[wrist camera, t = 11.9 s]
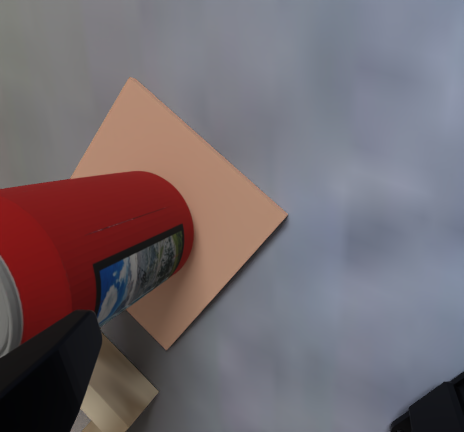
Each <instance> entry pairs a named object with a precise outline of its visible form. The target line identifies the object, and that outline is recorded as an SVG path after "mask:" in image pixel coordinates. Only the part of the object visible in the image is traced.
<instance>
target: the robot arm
mask: <svg viewBox="0 0 464 432" xmlns="http://www.w3.org/2000/svg"><path fill="white" fill-rule="evenodd" d="M101 346H102V333H101V330H100V326H99V323H98V320H97V317H96V314H95V312H94V311H92V310H81V309H79V310H75V311H73V312H71V313H70V314H68V315H67V316H65V317H64V318H62V319H60V320H59V321H57V322H56V323H54V324H53V325H51V326H49V327H48V328H46V329H45V330H43V331H42V332H40V333H39V334H37V335H35V336H34V337H32V338H31V339H29V340H28V341H26V342H24V343H23V344H21V345H20V346H18V347H17V348H15V349H14V350H12V351H10V352H9V353H7V354H6V355H4V356H3V357H1V358H0V432H70V431H71V428H72V426H73V424H74V422H75V420H76V417H77V415H78V413H79V410H80V408H81V405H82V402H83V400H84V397H85V394H86V391H87V388H88V385H89V382H90V379H91V376H92V373H93V370H94V367H95V364H96V361H97V358H98V355H99V352H100V349H101ZM390 429H391V432H398V431H397V430H399V429H400V430H403V431H405V432H464V372H463V373H461V374H460V375H458V376H457V377H456V378H454V379H453V380H451V381H449V382H443V383H442V384H441V385H439V386H438V387H436V388H435V389H434V390H432V391H431V392H429V393H428V394H427V395H425V396H424V397H422V398H421V399H420V400H418V401H417V402H415V403H414V404H413V405H411V406H410V407H409V411H408V412H406V413H405V414H403V415H402V416H400V417H399V418H398V419H396V420H395V421H393V422H392V424H391V427H390Z"/></svg>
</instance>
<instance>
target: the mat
mask: <svg viewBox="0 0 464 432" xmlns="http://www.w3.org/2000/svg"><path fill="white" fill-rule="evenodd" d="M130 171H145V172H150V173H153V174H156V175H158V176H160V177H162V178H164V179H165V180H167V181H168V182H170V183H171V184H172V185H173V186H174V187H175V188H176V189H177V190H178V191H179V192H180V194H181V195H182V197H183V198H184V200H185V201H186V203H187V205H188V208H189V210H190V213H191V216H192V220H193V226H194V240H193V246H192V250H191V253H190V255H189V257H188V259H187V261H186V263H185V264H184V266H183V267H182V268H181V269H180V270H179V271H178V272H177V273H176V274H174V275H173V276H171V277H170V278H169V279H167V280H166V281H165V282H163V283H162V284H161V285H159V286H158V287H156V288H155V289H154V290H152V291H151V292H149V293H148V294H147V295H145V296H144V297H142V298H141V299H140V300H138V301H137V302H135V303H134V304H133V305H131V306H130V307H128V308H127V309H126V310H127V311H128V312H129V313H130V314H131V315H132V316H133V317H134V318H135V319H136V320H137V321H138V322H139V323H140V324H141V325H142V326H143V327H144V328H145V329H146V330H147V331H148V332H149V333H150V334H151V335H152V336H153V337H154V338H155V339H156V340H157V342H158V343H159V344H160V345H161V346H162V347H163V348H164V349H165V350H167V349H168V348H169V347H170V346H171V345H172V344H173V343H174V342H175V341H176V340H177V338H178V337H179V336H180V335H181V334H182V333H183V332H184V331H185V330H186V328H187V327H188V326H189V325H190V324H191V323H192V322H193V321H194V319H195V318H196V317H197V316H198V315H199V314H200V313H201V312H202V311H203V309H204V308H205V307H206V306H207V305H208V304H209V303H210V302H211V300H212V299H213V298H214V297H215V296H216V295H217V294H218V293H219V292H220V290H221V289H222V288H223V287H224V286H225V285H226V284H227V283H228V281H229V280H230V279H231V278H232V277H233V276H234V275H235V274H236V273H237V271H238V270H239V269H240V268H241V267H242V266H243V265H244V264H245V263H246V261H247V260H248V259H249V258H250V257H251V256H252V255H253V254H254V252H255V251H256V250H257V249H258V248H259V247H260V246H261V245H262V244H263V242H264V241H265V240H266V239H267V238H268V237H269V236H270V235H271V233H272V232H273V231H274V230H275V229H276V228H277V227H278V226H279V225H280V223H281V222H282V221H283V220H284V219H285V218H286V217H287V216H288V214H287V213H286V212H285V211H284V210H283V209H281V208H280V207H279V206H278V205H277V204H276V203H275V202H274V201H272V200H271V199H270V198H269V197H268V196H267V195H266V194H265V193H263V192H262V191H261V190H260V189H259V188H258V187H257V186H256V185H254V184H253V183H252V182H251V181H250V180H249V179H248V178H247V177H245V176H244V175H243V174H242V173H241V172H240V171H239V170H238V169H236V168H235V167H234V166H233V165H232V164H231V163H230V162H229V161H227V160H226V159H225V158H224V157H223V156H222V155H221V154H220V153H218V152H217V151H216V150H215V149H214V148H213V147H212V146H211V145H209V144H208V143H207V142H206V141H205V140H204V139H203V138H202V137H200V136H199V135H198V134H197V133H196V132H195V131H194V130H193V129H191V128H190V127H189V126H188V125H187V124H186V123H185V122H184V121H182V120H181V119H180V118H179V117H178V116H177V115H176V114H175V113H173V112H172V111H171V110H170V109H169V108H168V107H167V106H166V105H164V104H163V103H162V102H161V101H160V100H159V99H158V98H157V97H155V96H154V95H153V94H152V93H151V92H150V91H149V90H148V89H146V88H145V87H144V86H143V85H142V84H141V83H140V82H139V81H137V80H136V79H135V78H131V77H129V79H128V80H127V82H126V84H125V85H124V87H123V89H122V91H121V92H120V94H119V96H118V97H117V99H116V101H115V103H114V104H113V106H112V108H111V109H110V111H109V113H108V115H107V116H106V118H105V120H104V121H103V123H102V125H101V127H100V128H99V130H98V132H97V133H96V135H95V137H94V139H93V140H92V142H91V144H90V145H89V147H88V149H87V151H86V152H85V154H84V156H83V157H82V159H81V161H80V163H79V164H78V166H77V168H76V169H75V171H74V173H73V175H72V176H71V178H70V179H74V178H81V177H89V176H97V175H105V174H113V173H121V172H130Z"/></svg>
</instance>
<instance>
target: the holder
mask: <svg viewBox="0 0 464 432" xmlns="http://www.w3.org/2000/svg"><path fill="white" fill-rule="evenodd" d="M101 333H102V332H101ZM158 393H159V391H158V390H157V389H156V388H155V387H154V386H153V385H152V384H151V383H150V382H149V381H148V380H147V379H146V378H145V377H144V376H143V375H142V374H141V373H140V372H139V371H138V370H137V368H136V367H135V366H134V365H133V364H132V363H131V362H130V361H129V360H128V359H127V358H126V357H125V356H124V355H123V354H122V353H121V352H120V351H119V350H118V349H117V348H116V347H115V346H114V345H113V344H112V343H111V342H110V341H109V340H108V339H107V337H106V336H105V335H104V334H103V333H102V346H101V349H100V352H99V355H98V358H97V361H96V364H95V367H94V370H93V373H92V376H91V379H90V382H89V385H88V388H87V391H86V394H85V397H84V400H83V402H82V405H81V410H82V411H83V412H84V413H85V414H86V415H87V416H88V417H89V418H90V419H91V421H90V423H89V424H88V425H87V426H86V427H85V428H84V429H83V431H82V432H125V431H126V430H127V429H128V428H129V427H130V426H131V425H132V424H133V422H134V421H135V420H136V419H137V418H138V416H139V415H140V414H141V413H142V412H143V410H144V409H145V408H146V407H147V406H148V405H149V403H150V402H151V401H152V400H153V399H154V397H155V396H156V395H157V394H158Z"/></svg>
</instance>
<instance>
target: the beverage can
mask: <svg viewBox="0 0 464 432" xmlns="http://www.w3.org/2000/svg"><path fill="white" fill-rule="evenodd" d="M193 240H194V226H193V220H192V216H191V213H190V210H189V208H188V205H187V203H186V201H185V200H184V198H183V197H182V195H181V194H180V192H179V191H178V190H177V189H176V188H175V187H174V186H173V185H172V184H171V183H170V182H168V181H167V180H165V179H164V178H162V177H160V176H158V175H156V174H153V173H150V172H145V171H130V172H121V173H113V174H105V175H97V176H89V177H81V178H74V179H67V180H60V181H53V182H46V183H39V184H31V185H25V186H18V187H12V188H5V189H0V358H1V357H3V356H4V355H6V354H7V353H9V352H10V351H12V350H14V349H15V348H17V347H18V346H20V345H21V344H23V343H24V342H26V341H28V340H29V339H31V338H32V337H34V336H35V335H37V334H39V333H40V332H42V331H43V330H45V329H46V328H48V327H49V326H51V325H53V324H54V323H56V322H57V321H59V320H60V319H62V318H64V317H65V316H67V315H68V314H70V313H71V312H73V311H75V310H79V309H81V310H92V311H94V312H95V314H96V317H97V320H98V323H99V326H100V327H101V326H103V325H104V324H106V323H107V322H108V321H110V320H111V319H113V318H114V317H116V316H117V315H118V314H120V313H121V312H123V311H124V310H126V309H127V308H128V307H130V306H131V305H133V304H134V303H135V302H137V301H138V300H140V299H141V298H142V297H144V296H145V295H147V294H148V293H149V292H151V291H152V290H154V289H155V288H156V287H158V286H159V285H161V284H162V283H163V282H165V281H166V280H167V279H169V278H170V277H171V276H173V275H174V274H176V273H177V272H178V271H179V270H180V269H181V268H182V267H183V266H184V264H185V263H186V261H187V259H188V257H189V255H190V253H191V250H192V246H193Z"/></svg>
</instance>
